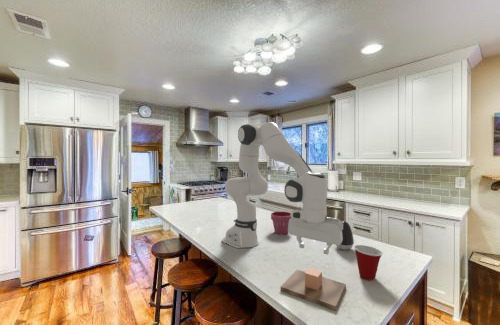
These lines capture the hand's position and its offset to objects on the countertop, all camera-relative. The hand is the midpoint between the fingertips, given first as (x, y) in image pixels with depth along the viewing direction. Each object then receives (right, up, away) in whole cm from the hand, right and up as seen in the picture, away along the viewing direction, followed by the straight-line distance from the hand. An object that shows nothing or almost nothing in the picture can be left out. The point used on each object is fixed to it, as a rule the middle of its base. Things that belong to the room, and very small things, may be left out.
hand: (313, 250), depth 86 cm
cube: (0, -13, 0) cm, 13 cm away
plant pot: (-3, -14, +67) cm, 68 cm away
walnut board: (0, -15, 0) cm, 15 cm away
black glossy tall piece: (+28, -15, +40) cm, 51 cm away
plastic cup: (+26, -15, +9) cm, 31 cm away
